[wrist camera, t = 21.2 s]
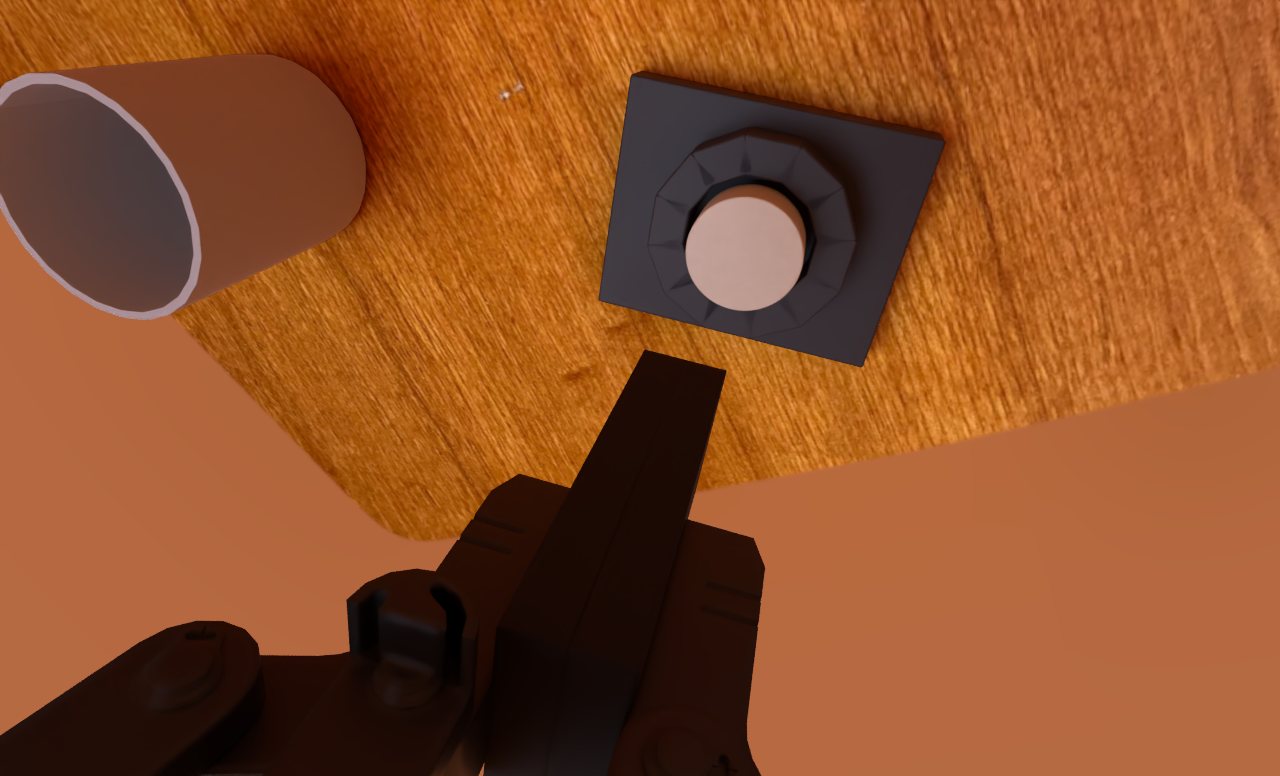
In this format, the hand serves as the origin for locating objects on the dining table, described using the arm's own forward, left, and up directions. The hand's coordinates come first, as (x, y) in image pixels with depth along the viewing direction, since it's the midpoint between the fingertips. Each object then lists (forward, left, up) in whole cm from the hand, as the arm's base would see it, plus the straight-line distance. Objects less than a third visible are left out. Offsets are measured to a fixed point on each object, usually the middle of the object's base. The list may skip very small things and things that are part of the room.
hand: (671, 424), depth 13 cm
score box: (0, 0, -14) cm, 14 cm away
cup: (+20, +2, -15) cm, 25 cm away
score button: (0, 0, -12) cm, 12 cm away
